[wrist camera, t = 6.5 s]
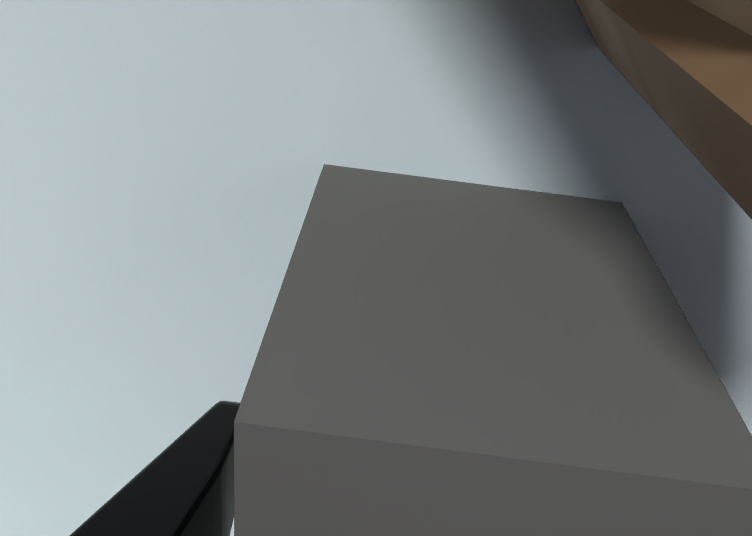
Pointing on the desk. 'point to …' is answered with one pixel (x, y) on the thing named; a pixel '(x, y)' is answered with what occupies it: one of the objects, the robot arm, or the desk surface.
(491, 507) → the block
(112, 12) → the desk surface
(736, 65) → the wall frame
